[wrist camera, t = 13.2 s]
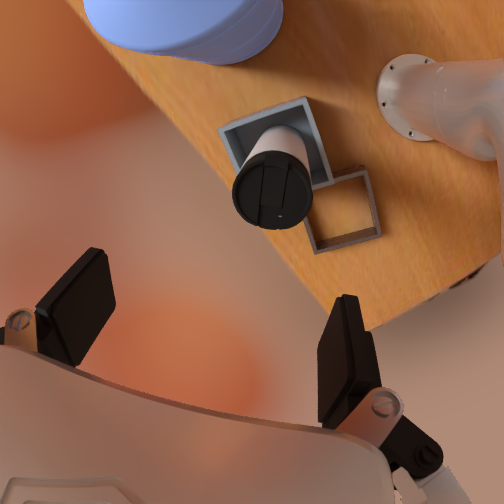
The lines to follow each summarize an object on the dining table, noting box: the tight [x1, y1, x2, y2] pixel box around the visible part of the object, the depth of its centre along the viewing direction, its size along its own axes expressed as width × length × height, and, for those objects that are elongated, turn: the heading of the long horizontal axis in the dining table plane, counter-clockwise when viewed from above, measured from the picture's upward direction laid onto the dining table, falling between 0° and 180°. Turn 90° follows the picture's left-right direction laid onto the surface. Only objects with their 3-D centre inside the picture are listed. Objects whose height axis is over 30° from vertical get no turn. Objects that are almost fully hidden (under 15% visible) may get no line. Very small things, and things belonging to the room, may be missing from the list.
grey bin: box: [217, 96, 335, 191], centre depth 37 cm, size 11×11×7 cm
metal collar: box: [303, 165, 382, 255], centre depth 43 cm, size 11×11×2 cm
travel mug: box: [232, 125, 313, 230], centre depth 31 cm, size 6×7×20 cm
